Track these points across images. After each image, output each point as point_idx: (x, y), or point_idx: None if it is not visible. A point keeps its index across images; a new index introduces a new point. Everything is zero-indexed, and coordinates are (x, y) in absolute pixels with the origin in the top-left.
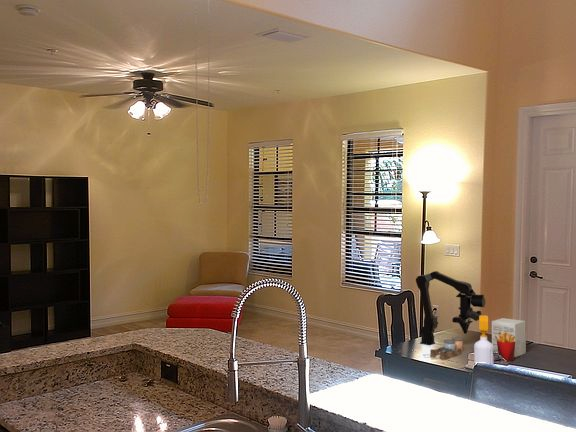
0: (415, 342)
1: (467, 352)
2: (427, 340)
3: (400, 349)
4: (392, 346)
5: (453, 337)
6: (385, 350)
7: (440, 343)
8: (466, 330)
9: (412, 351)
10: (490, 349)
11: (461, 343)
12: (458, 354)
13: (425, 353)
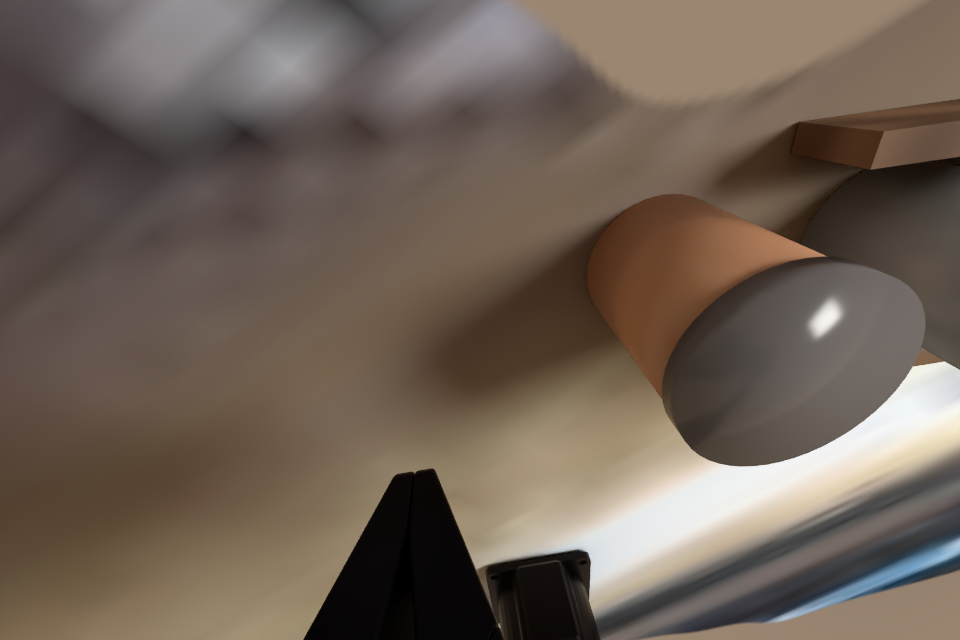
0: None
1: (626, 130)
2: (586, 605)
3: (852, 552)
4: (784, 609)
5: (761, 456)
6: (925, 569)
7: None
8: (438, 549)
9: (886, 487)
10: None
11: (780, 238)
12: (895, 111)
13: (927, 399)
